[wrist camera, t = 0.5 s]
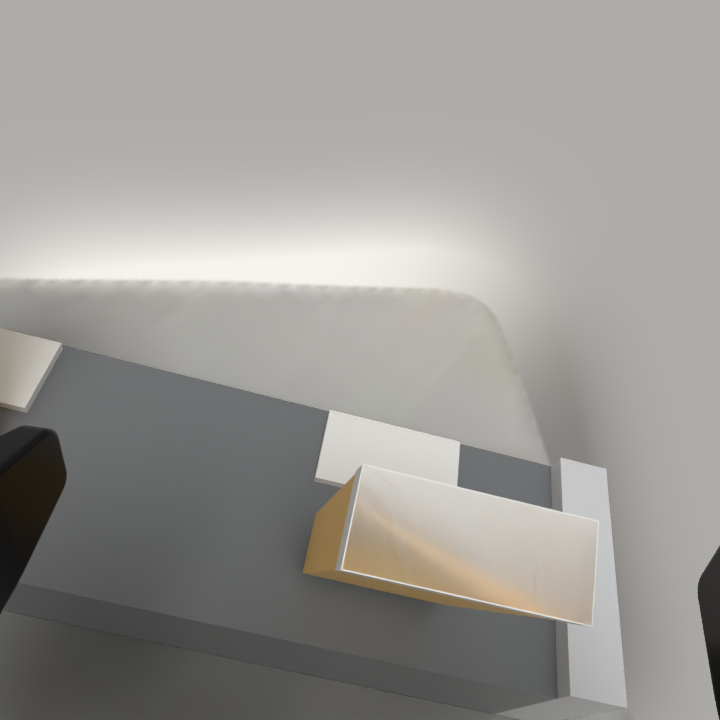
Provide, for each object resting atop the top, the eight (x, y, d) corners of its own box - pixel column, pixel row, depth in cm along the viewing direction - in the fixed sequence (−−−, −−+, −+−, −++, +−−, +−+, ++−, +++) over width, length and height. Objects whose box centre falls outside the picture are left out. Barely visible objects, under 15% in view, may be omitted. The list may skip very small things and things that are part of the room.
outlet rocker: (443, 605, 17) (592, 627, 10) (301, 573, 17) (340, 569, 9) (452, 545, 18) (599, 520, 10) (315, 513, 17) (363, 463, 10)
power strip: (539, 723, 20) (627, 708, 16) (-293, 547, 18) (-439, 477, 14) (536, 522, 24) (605, 468, 20) (-143, 360, 22) (-223, 262, 18)
